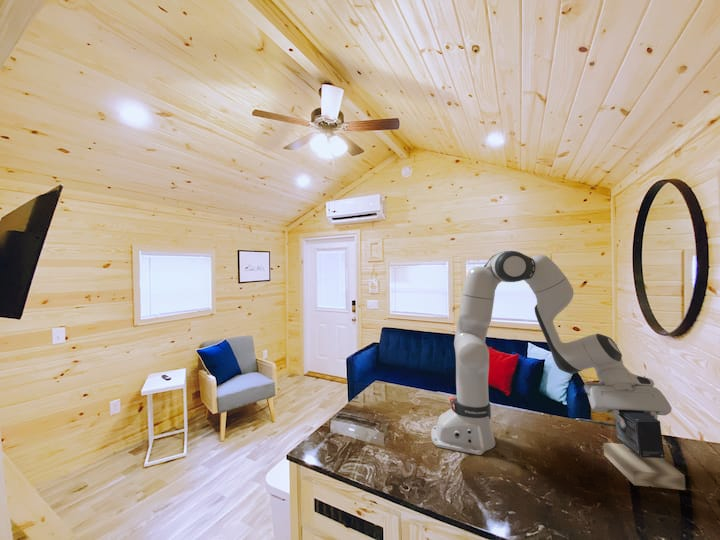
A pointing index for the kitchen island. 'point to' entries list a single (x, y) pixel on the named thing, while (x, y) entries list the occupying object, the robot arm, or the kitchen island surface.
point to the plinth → (644, 468)
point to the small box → (641, 434)
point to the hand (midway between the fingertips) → (640, 428)
